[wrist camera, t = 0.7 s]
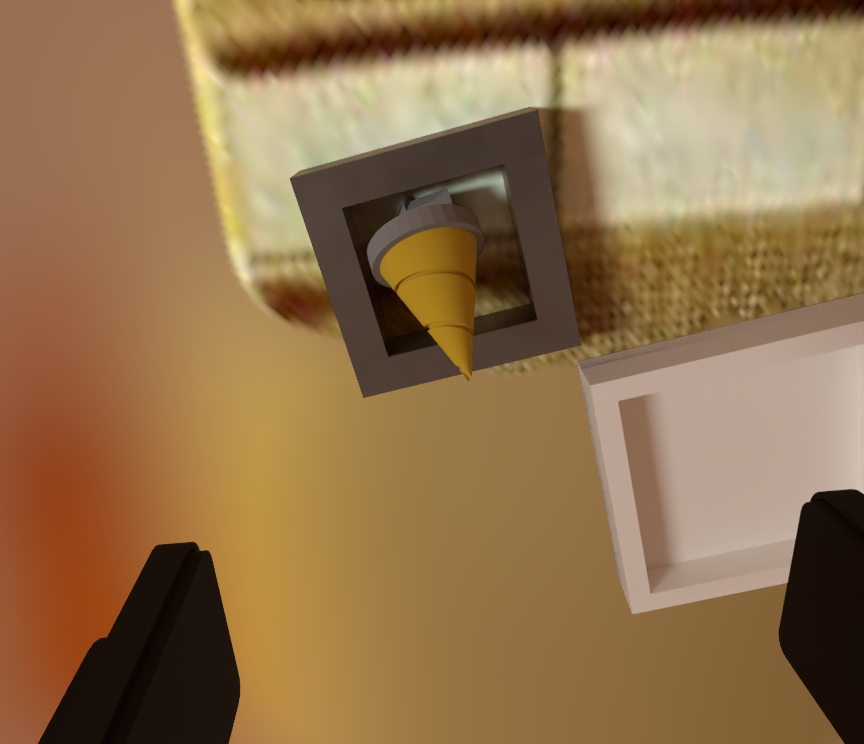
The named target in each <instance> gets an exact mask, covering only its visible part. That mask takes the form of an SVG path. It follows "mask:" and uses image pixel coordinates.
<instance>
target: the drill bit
mask: <svg viewBox="0 0 864 744" xmlns="http://www.w3.org/2000/svg"><path fill="white" fill-rule="evenodd" d="M484 243H485V240H484V236H483V233H482V230H481V227H480V225H479V222H478V219H477V217H476V216H475V215H474V213H473V212H471V211H470V210H469V209H467V208H464V207H462V206H458V205H453V203H452V201H451V198H450V195H449V192H448V189H447V188H445V189H443V190H440V191H437V192H435V193H432V194H429V195H426V196H424V197H421V198H418V199H416V200H412V199H411V197H410V196H409V195H408V193H406V196H405V198H404V201H403V203H402V206H401V209H400V211H399V214H398V216H397V217H395V218H393V219H392V220H390V221H389V222H387V223H386V224H385V225H383V226H382V227H381V228H380V229H379V230H378V231H377V232H376V233H375V235H374V236H373V237H372V238H371V240H370V242H369V244H368V248H367V256H368V260H369V264H370V267H371V270H372V274H373V276H374V278H375V279H376V281H378V282H379V283H380V284H381V285H384V286H386V287H389V288H392V289H393V290H394V291H395V292H396V293H397V295H398V296H399V297H400V298H401V300H402V301H403V302H404V303H405V304H406V306H407V307H408V308H409V309H410V311H411V312H412V313H413V314H414V315H415V317H416V318H417V319H418V320H419V321H420V323H421V324H422V325H423V326H424V327H425V328H430V330H428V332H429V334H430V335H431V336H432V337H433V339H434V340H435V341H436V342H437V343H438V345H439V346H440V347H441V348H442V349H443V351H444V352H445V353H446V354H447V356H448V357H449V358H450V359H451V360H452V362H453V363H454V364H455V365H456V366H459V367H460V371H461V373H462V374H463V375H464V376H465V377H466V378H467V380H471V376H472V354H473V330H474V307H475V283H476V260H477V258H478V257H479V256H480V254H481V252H482V250H483V248H484Z"/></svg>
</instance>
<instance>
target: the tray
mask: <svg viewBox="0 0 864 744" xmlns="http://www.w3.org/2000/svg"><path fill="white" fill-rule="evenodd" d="M578 367H579V372H580V377H581V383H582V388H583V393H584V398H585V404H586V409H587V414H588V419H589V425H590V430H591V435H592V440H593V446H594V451H595V456H596V461H597V467H598V472H599V477H600V482H601V488H602V493H603V498H604V503H605V509H606V513H607V519H608V523H609V529H610V535H611V540H612V545H613V550H614V556H615V561H616V566H617V571H618V577H619V580H620V583H621V585H622V588H623V591H624V593H625V596H626V598H627V601H628V604H629V606H630V609H631V611H632V614H635V613H641V612H645V611H650V610H656V609H660V608H665V607H670V606H675V605H680V604H685V603H690V602H695V601H700V600H705V599H710V598H715V597H719V596H724V595H729V594H734V593H739V592H743V591H749V590H754V589H759V588H764V587H768V586H774V585H779V584H783V583H788V578H789V572H790V567H791V561H792V556H793V550H794V545H795V539H796V534H797V529H798V523H799V518H800V512H801V508H802V506H803V505H804V503H806V502H810V500H811V497H812V496H813V495H814V494H815V493H817V492H821V491H833V490H846V489H855V490H858V491H860V492H861V493H863V494H864V293H862V294H858V295H854V296H849V297H845V298H841V299H837V300H833V301H829V302H825V303H820V304H816V305H812V306H808V307H804V308H800V309H795V310H791V311H787V312H783V313H779V314H775V315H770V316H766V317H762V318H758V319H754V320H750V321H745V322H741V323H737V324H733V325H729V326H725V327H720V328H716V329H712V330H708V331H704V332H700V333H695V334H691V335H687V336H683V337H679V338H675V339H670V340H666V341H662V342H658V343H654V344H650V345H645V346H641V347H637V348H633V349H629V350H625V351H620V352H616V353H612V354H608V355H604V356H600V357H595V358H591V359H587V360H583V361H579V362H578Z"/></svg>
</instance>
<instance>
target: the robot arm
mask: <svg viewBox="0 0 864 744" xmlns="http://www.w3.org/2000/svg"><path fill="white" fill-rule="evenodd" d="M779 641H780V645H781V648H782V651H783V653H784V655H785V657H786V658H787V660H788V661H789V663H790V664H791V666H792V667H793V669H794V670H795V671H796V673H797V675H798V676H799V677H800V679H801V680H802V682H803V683H804V685H805V686H806V688H807V689H808V690H809V692H810V694H811V695H812V696H813V698H814V699H815V701H816V702H817V704H818V705H819V707H820V708H821V710H822V711H823V712H824V714H825V716H826V717H827V718H828V720H829V721H830V723H831V724H832V726H833V727H834V729H835V730H836V732H837V733H838V735H839V736H840V737H841V739H842V740H843V742H844V743H845V744H864V494H863V493H861V492H860V491H858V490H855V489H846V490H833V491H821V492H817V493H815V494H814V495H813V496H812V497H811V500H810V502H806V503H804V505H803V506H802V508H801V512H800V518H799V523H798V529H797V534H796V539H795V545H794V550H793V556H792V561H791V567H790V572H789V578H788V583H787V589H786V595H785V600H784V605H783V611H782V616H781V622H780V627H779ZM239 698H240V679H239V674H238V669H237V665H236V661H235V656H234V652H233V647H232V643H231V639H230V634H229V630H228V626H227V621H226V617H225V613H224V608H223V604H222V600H221V595H220V591H219V587H218V582H217V578H216V574H215V569H214V565H213V561H212V557H211V554H210V552H209V551H207V550H205V551H200V550H199V547H198V546H197V544H196V543H194V542H186V543H174V544H162V545H157V546H155V548H154V549H153V550H152V552H151V554H150V556H149V558H148V560H147V562H146V564H145V565H144V567H143V569H142V571H141V573H140V575H139V577H138V579H137V581H136V583H135V585H134V587H133V589H132V590H131V592H130V594H129V596H128V598H127V600H126V602H125V604H124V606H123V608H122V610H121V612H120V614H119V615H118V617H117V619H116V621H115V623H114V625H113V627H112V629H111V631H110V633H109V635H108V637H107V638H100V639H99V640H97V641H96V642H94V644H93V645H92V646H91V648H90V649H89V650H88V652H87V654H86V656H85V658H84V660H83V661H82V663H81V665H80V667H79V669H78V671H77V673H76V674H75V676H74V678H73V680H72V682H71V683H70V685H69V687H68V689H67V691H66V693H65V695H64V696H63V698H62V700H61V702H60V704H59V706H58V708H57V709H56V711H55V713H54V715H53V717H52V719H51V720H50V722H49V724H48V726H47V728H46V730H45V732H44V734H43V735H42V737H41V739H40V741H39V743H38V744H228V743H229V740H230V736H231V732H232V728H233V723H234V720H235V715H236V712H237V707H238V704H239Z"/></svg>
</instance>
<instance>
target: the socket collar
mask: <svg viewBox="0 0 864 744" xmlns="http://www.w3.org/2000/svg"><path fill="white" fill-rule="evenodd" d="M499 165H501V170H502V175H503V179H504V184H505V189H506V194H507V198H508V203H509V208H510V212H511V217H512V222H513V226H514V231H515V236H516V240H517V245H518V250H519V254H520V259H521V264H522V269H523V273H524V278H525V283H526V287H527V292H528V297H529V301H530V304H527V305H523V306H519V307H515V308H511V309H507V310H503V311H499V312H495V313H491V314H487V315H483V316H479V317H475V318H474V330H473V354H472V371H476V370H480V369H484V368H489V367H493V366H497V365H501V364H505V363H509V362H513V361H517V360H522V359H526V358H530V357H534V356H538V355H542V354H546V353H550V352H555V351H559V350H563V349H567V348H571V347H575V346H579V345H581V342H580V336H579V331H578V326H577V320H576V315H575V310H574V304H573V299H572V294H571V288H570V283H569V277H568V272H567V267H566V261H565V256H564V251H563V245H562V240H561V235H560V229H559V224H558V218H557V213H556V208H555V202H554V197H553V192H552V186H551V181H550V176H549V170H548V165H547V159H546V154H545V149H544V143H543V138H542V133H541V127H540V122H539V116H538V111H537V110H536V109H533V108H530V107H528V108H524V109H521V110H517V111H513V112H510V113H506V114H503V115H499V116H495V117H492V118H488V119H485V120H481V121H477V122H474V123H470V124H467V125H463V126H459V127H456V128H452V129H449V130H445V131H441V132H438V133H434V134H431V135H427V136H423V137H420V138H416V139H413V140H409V141H405V142H402V143H398V144H395V145H391V146H387V147H384V148H380V149H377V150H373V151H369V152H366V153H362V154H359V155H355V156H351V157H348V158H344V159H341V160H337V161H333V162H330V163H326V164H323V165H319V166H315V167H312V168H308V169H305V170H301V171H299V172H297V173H296V174H295V175H294V176H292V177H291V178H290V181H291V184H292V187H293V190H294V193H295V196H296V199H297V202H298V205H299V208H300V211H301V214H302V216H303V219H304V222H305V225H306V228H307V231H308V234H309V237H310V240H311V243H312V246H313V249H314V252H315V255H316V258H317V261H318V264H319V267H320V270H321V273H322V276H323V279H324V282H325V285H326V288H327V291H328V294H329V297H330V300H331V303H332V306H333V309H334V311H335V314H336V317H337V320H338V323H339V326H340V329H341V332H342V335H343V338H344V341H345V344H346V347H347V350H348V353H349V356H350V359H351V362H352V365H353V368H354V371H355V374H356V377H357V380H358V382H359V386H360V389H361V392H362V394H363V397H364V398H365V397H369V396H373V395H377V394H381V393H385V392H389V391H393V390H398V389H402V388H406V387H410V386H414V385H418V384H423V383H427V382H431V381H435V380H439V379H443V378H447V377H451V376H456V375H460V374H462V373H461V371H460V367H459V366H456V365H455V364H454V363H453V362H452V360H451V359H450V358H449V357H448V356H447V354H446V353H445V352H444V351H443V349H442V348H441V347H440V346H439V345H438V343H437V342H436V341H435V340H434V339H433V337H432V336H431V335H430V334H429V332H428V330H430V329H427V330H423V331H419V332H415V333H411V334H407V335H403V336H399V337H395V338H390V335H389V332H388V329H387V325H386V322H385V319H384V316H383V312H382V309H381V306H380V303H379V299H378V296H377V293H376V290H375V286H374V283H373V280H372V277H371V273H370V270H369V267H368V264H367V260H366V257H365V254H364V251H363V247H362V244H361V241H360V237H359V234H358V231H357V228H356V224H355V221H354V218H353V215H352V211H351V208H350V206H352V205H355V204H359V203H363V202H366V201H370V200H374V199H377V198H381V197H385V196H389V195H392V194H396V193H400V192H403V191H407V190H411V189H414V188H418V187H422V186H426V185H429V184H433V183H437V182H440V181H444V180H448V179H451V178H455V177H459V176H462V175H466V174H470V173H474V172H477V171H481V170H485V169H488V168H492V167H496V166H499Z"/></svg>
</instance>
